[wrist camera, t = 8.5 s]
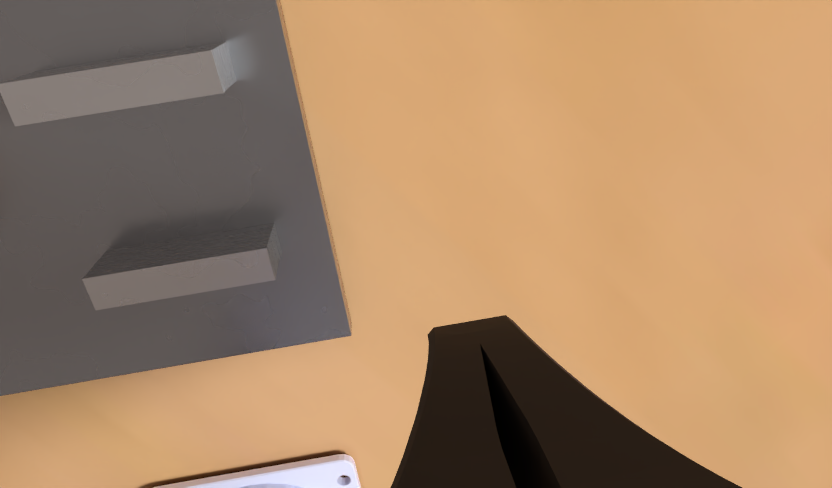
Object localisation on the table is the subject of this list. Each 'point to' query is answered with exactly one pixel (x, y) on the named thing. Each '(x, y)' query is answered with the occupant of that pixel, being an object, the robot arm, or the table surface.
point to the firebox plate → (155, 190)
